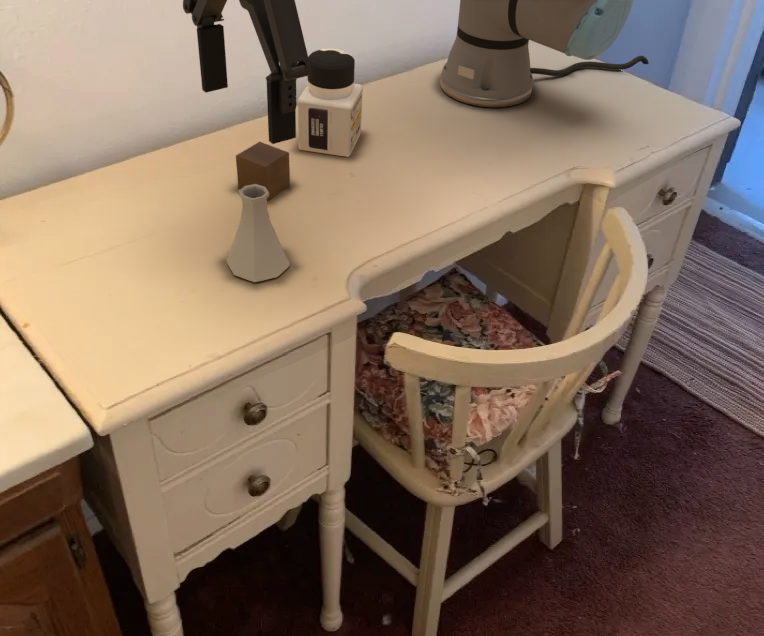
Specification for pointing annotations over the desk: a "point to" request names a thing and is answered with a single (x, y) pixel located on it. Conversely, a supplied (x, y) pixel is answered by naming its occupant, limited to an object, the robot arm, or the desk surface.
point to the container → (330, 104)
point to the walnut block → (264, 168)
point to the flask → (256, 240)
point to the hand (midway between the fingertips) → (247, 113)
